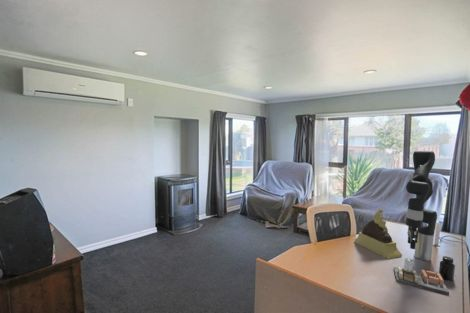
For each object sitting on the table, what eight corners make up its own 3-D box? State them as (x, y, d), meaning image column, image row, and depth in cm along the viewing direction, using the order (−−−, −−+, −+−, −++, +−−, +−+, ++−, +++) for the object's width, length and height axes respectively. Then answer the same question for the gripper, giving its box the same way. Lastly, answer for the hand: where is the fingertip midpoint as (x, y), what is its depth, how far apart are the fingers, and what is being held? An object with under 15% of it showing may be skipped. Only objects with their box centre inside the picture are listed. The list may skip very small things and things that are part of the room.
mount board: (393, 269, 159) (394, 262, 159) (440, 280, 149) (441, 272, 149) (396, 281, 145) (397, 274, 144) (448, 295, 135) (450, 286, 134)
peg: (402, 274, 150) (404, 257, 149) (410, 276, 149) (412, 259, 148) (403, 277, 147) (405, 260, 146) (412, 279, 145) (414, 262, 144)
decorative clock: (401, 256, 178) (406, 213, 175) (388, 259, 173) (393, 214, 171) (367, 240, 204) (370, 202, 201) (354, 242, 199) (358, 203, 197)
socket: (421, 274, 152) (421, 269, 151) (438, 278, 148) (439, 273, 148) (424, 281, 144) (424, 276, 144) (443, 285, 140) (443, 280, 140)
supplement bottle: (446, 275, 156) (449, 255, 155) (456, 281, 149) (459, 261, 148) (435, 274, 155) (437, 255, 154) (444, 281, 149) (447, 260, 148)
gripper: (404, 213, 153) (401, 240, 154) (408, 219, 140) (405, 249, 141) (420, 215, 149) (416, 243, 151) (425, 222, 137) (421, 252, 138)
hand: (411, 246), depth 146 cm, fingers open, 8 cm apart
